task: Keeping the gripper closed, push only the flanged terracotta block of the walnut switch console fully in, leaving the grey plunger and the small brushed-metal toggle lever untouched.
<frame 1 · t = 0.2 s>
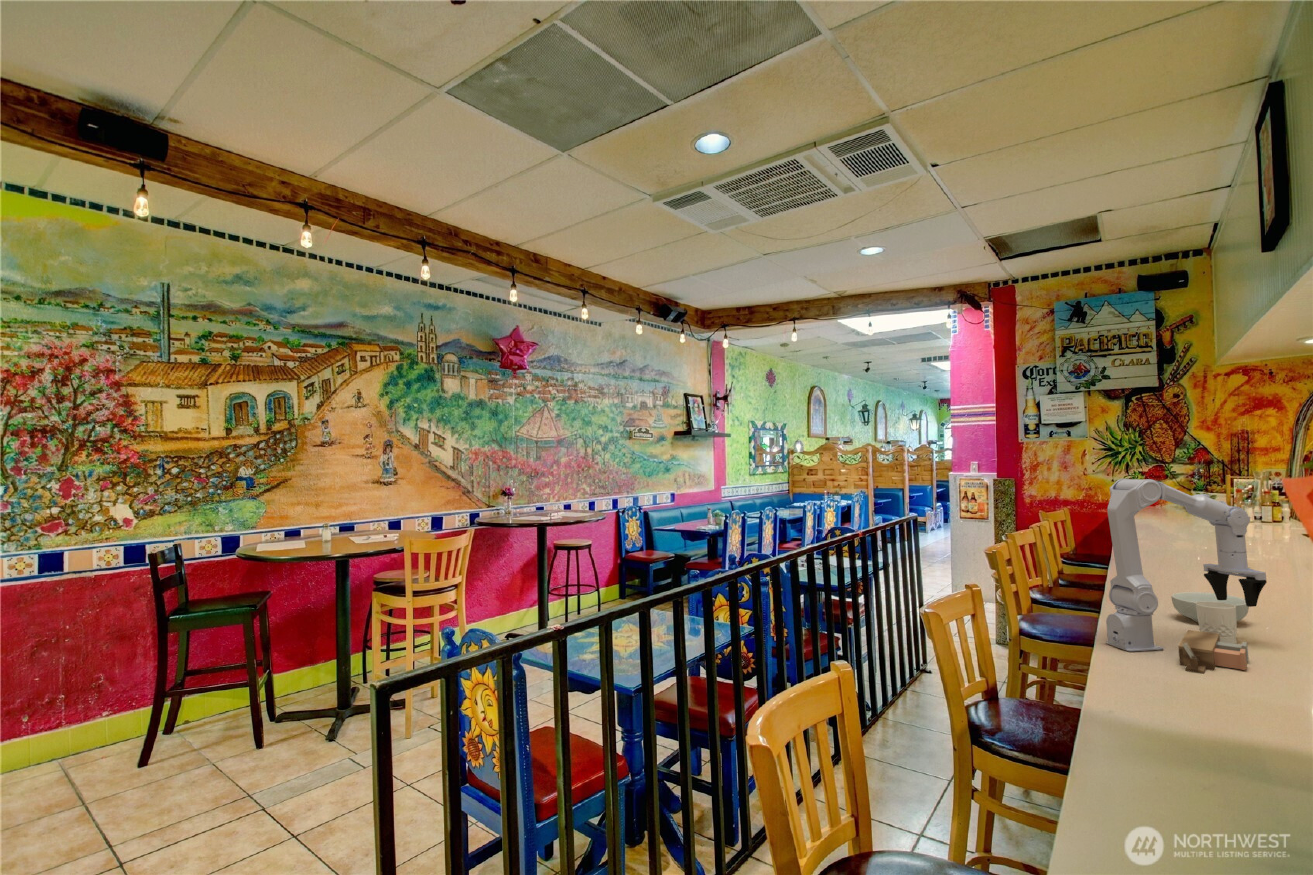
hand: (1236, 603, 161), 10 cm above the bar counter, fingers open, 7 cm apart
console: (1201, 658, 150), on the bar counter
toggle lever: (1190, 653, 143), point 4 cm above the bar counter, hinge at 25.0°
flanged terracotta block: (1225, 656, 144), point 2 cm above the bar counter, slide at 0.0 cm
white cup: (1219, 643, 161), on the bar counter
plunger grey: (1228, 649, 148), point 2 cm above the bar counter, slide at 0.0 cm
cereal bowl: (1210, 622, 180), on the bar counter
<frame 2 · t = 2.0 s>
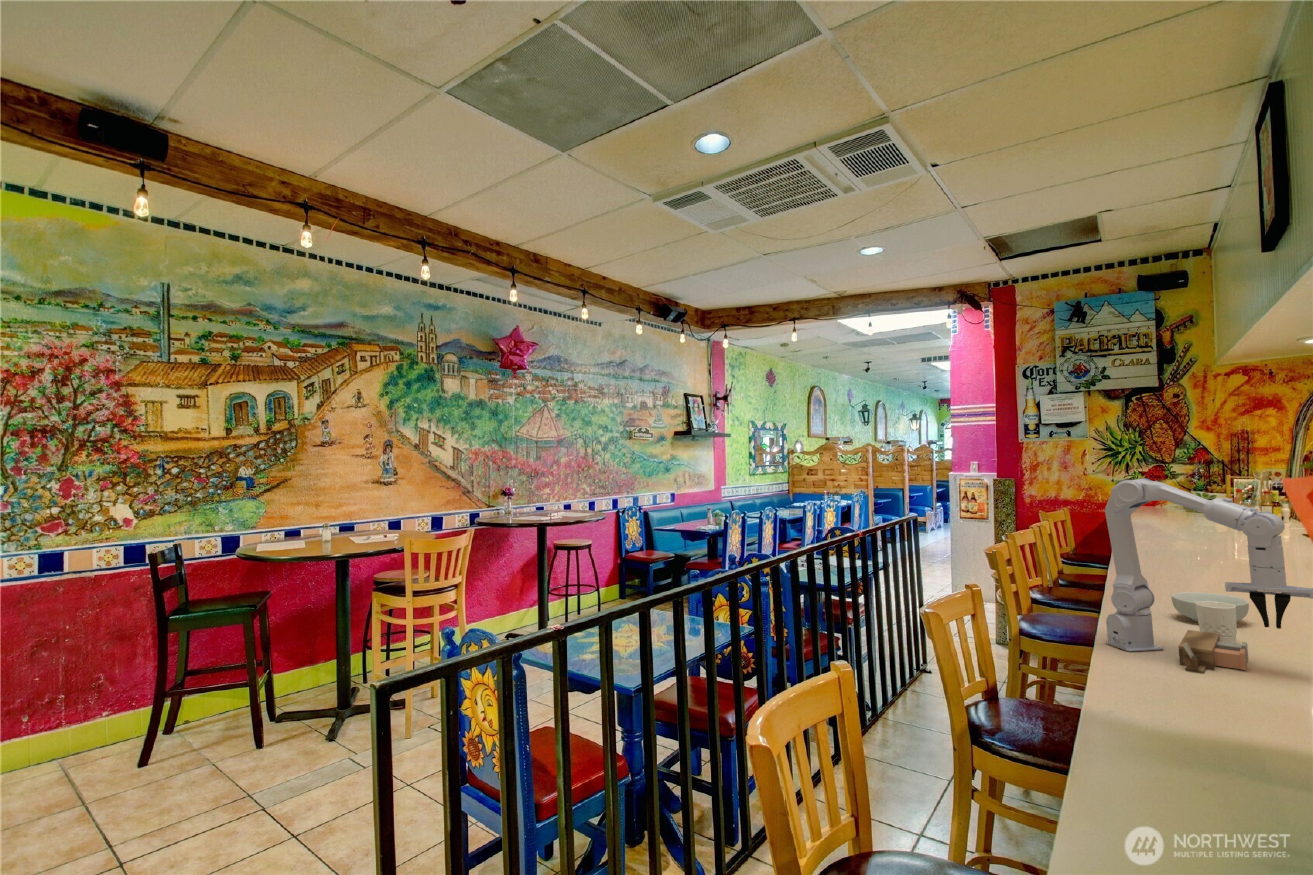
hand: (1272, 627, 138), 10 cm above the bar counter, fingers closed
nothing on the bar counter moved.
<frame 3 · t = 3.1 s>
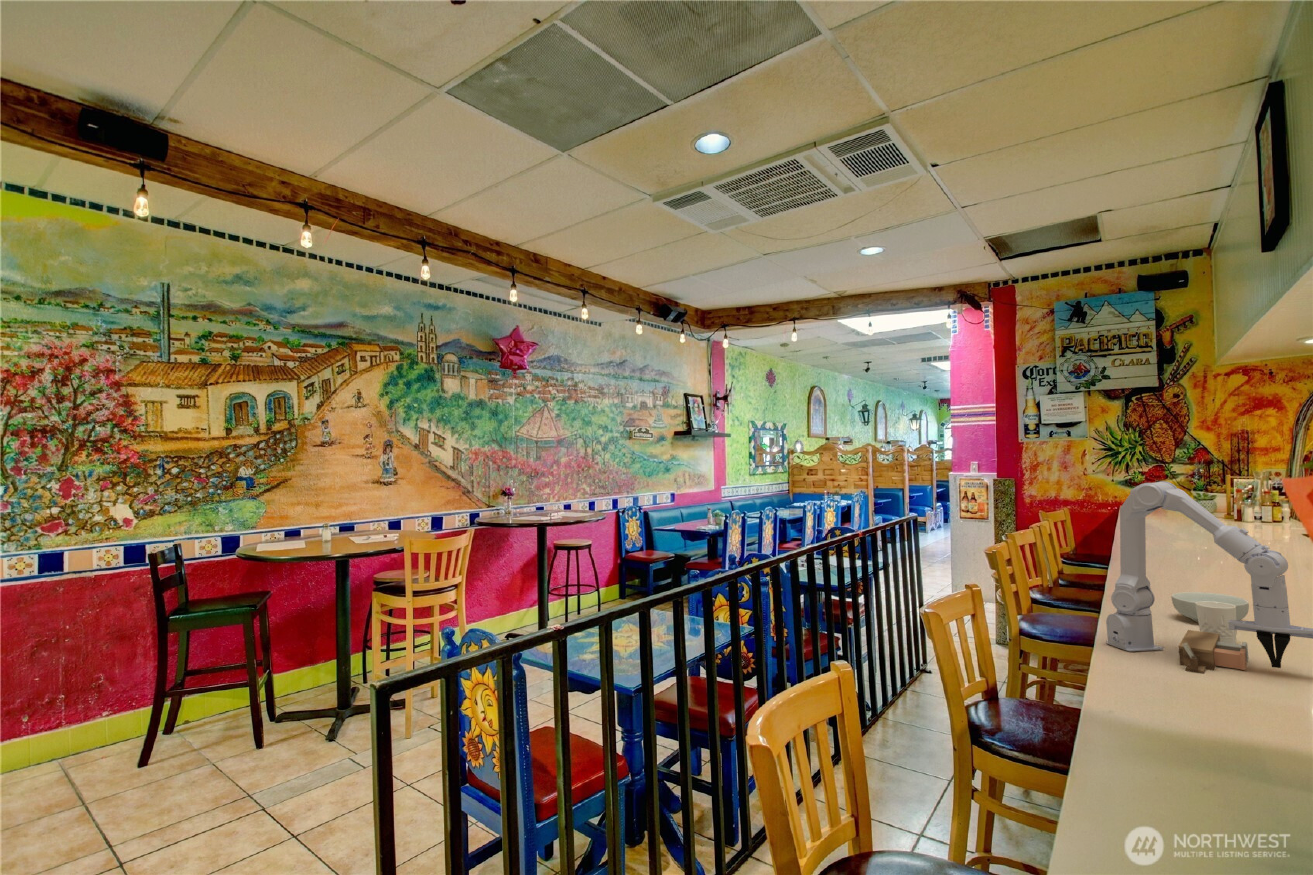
hand: (1276, 666, 138), 2 cm above the bar counter, fingers closed
nothing on the bar counter moved.
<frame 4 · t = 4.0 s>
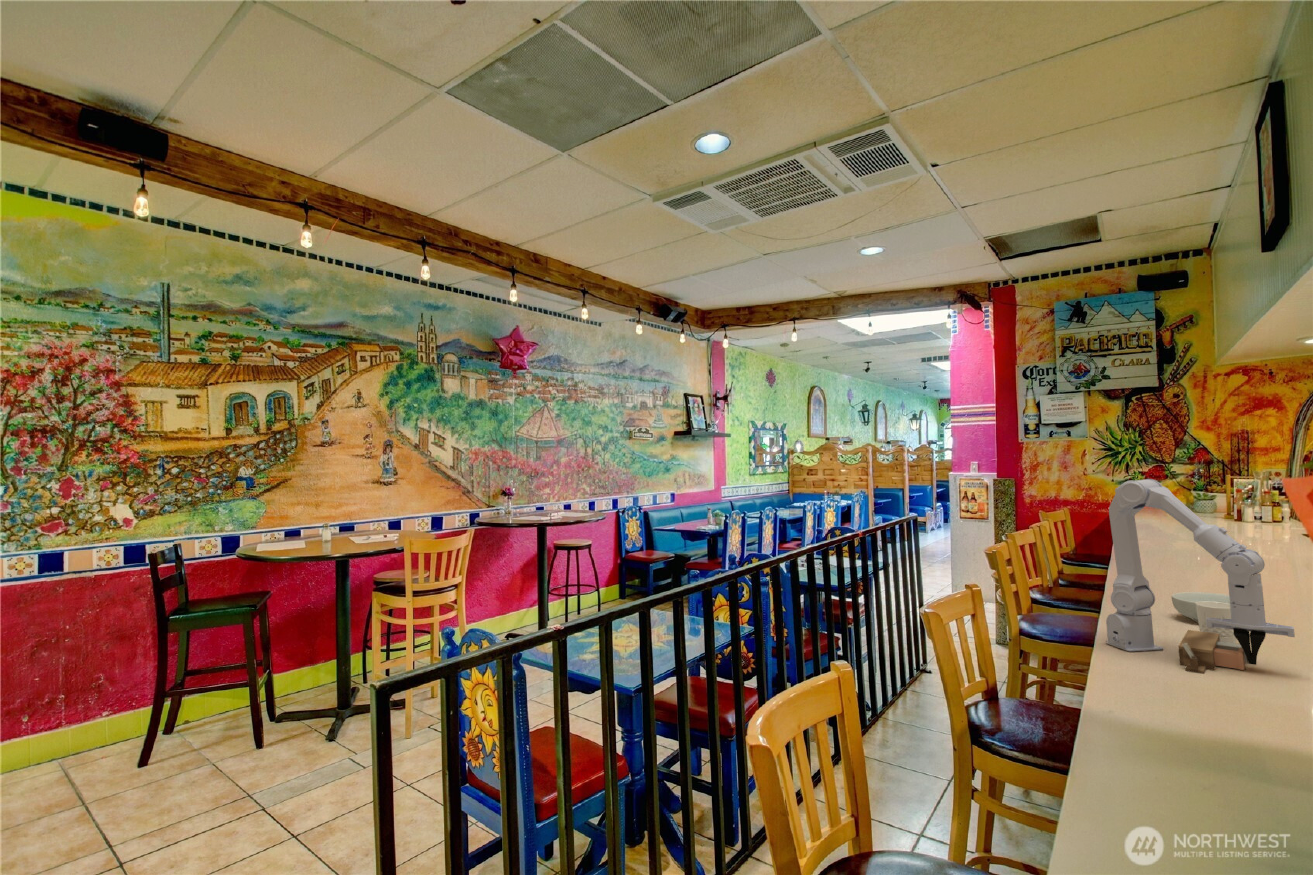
hand: (1252, 663, 140), 2 cm above the bar counter, fingers closed
flanged terracotta block: (1224, 656, 144), point 2 cm above the bar counter, slide at 0.3 cm, touching gripper
everything else where it was.
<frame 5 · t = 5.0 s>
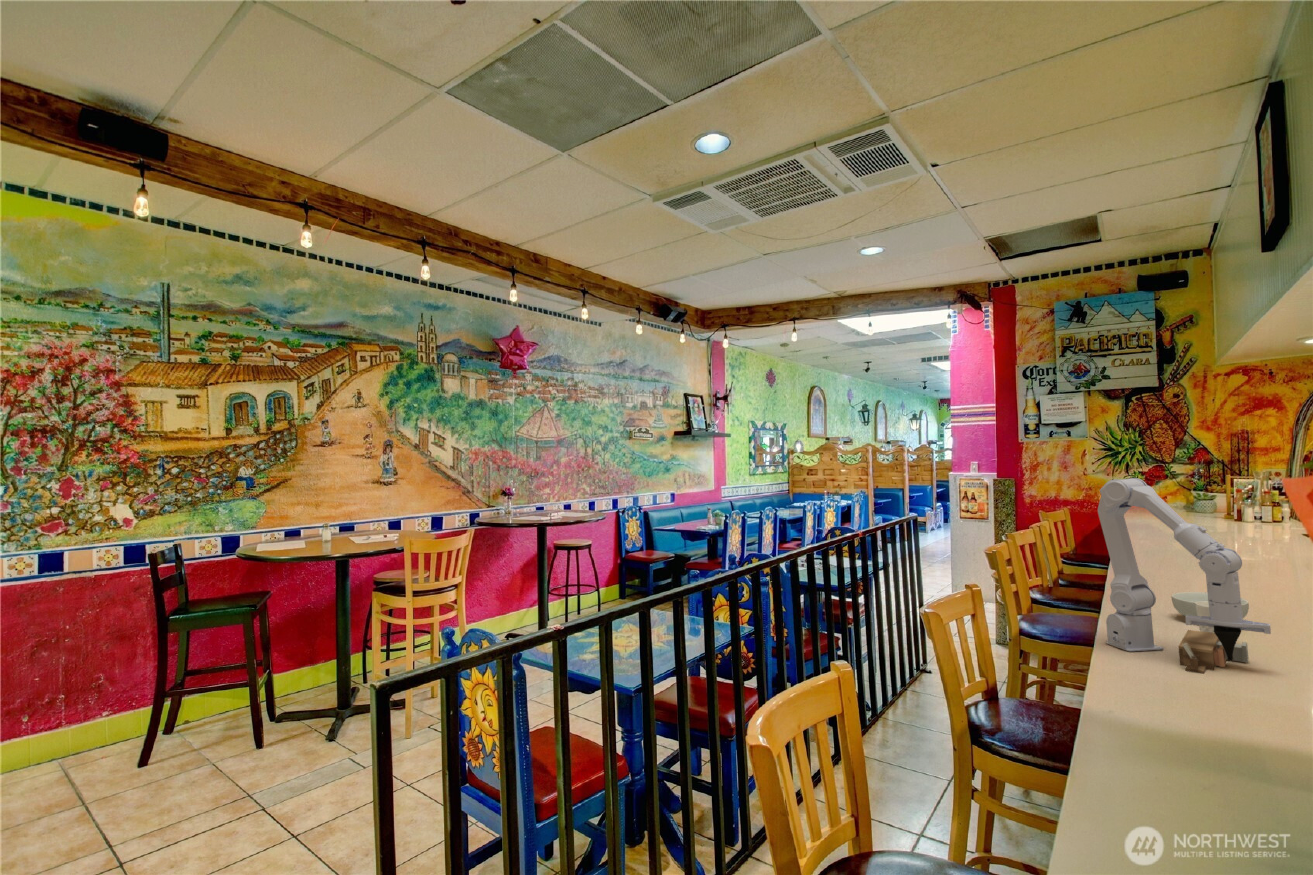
hand: (1230, 659, 143), 2 cm above the bar counter, fingers closed
flanged terracotta block: (1205, 654, 146), point 2 cm above the bar counter, slide at 3.6 cm, touching gripper
everything else where it was.
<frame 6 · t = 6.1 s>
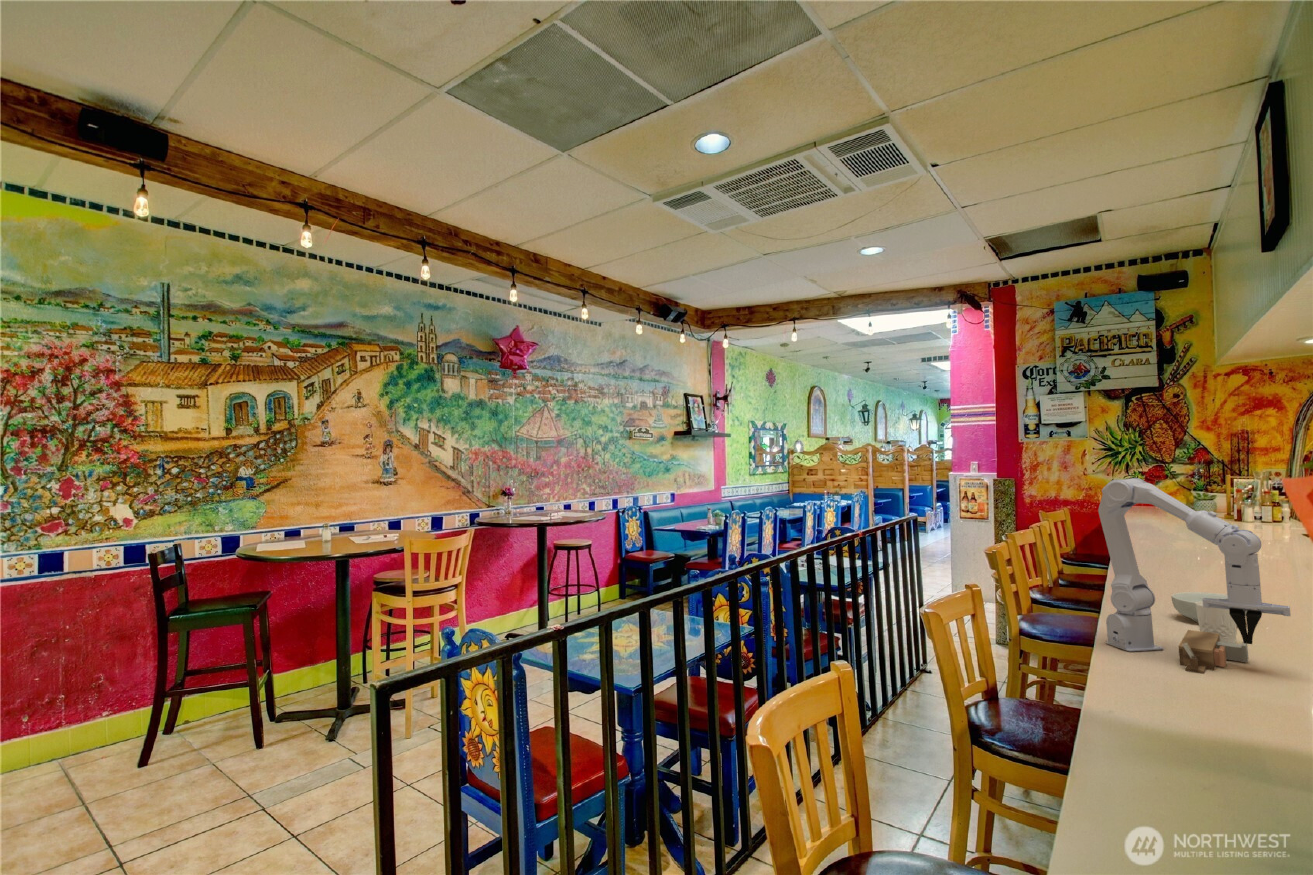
hand: (1248, 642, 141), 6 cm above the bar counter, fingers closed
flanged terracotta block: (1205, 654, 146), point 2 cm above the bar counter, slide at 3.5 cm
everything else where it was.
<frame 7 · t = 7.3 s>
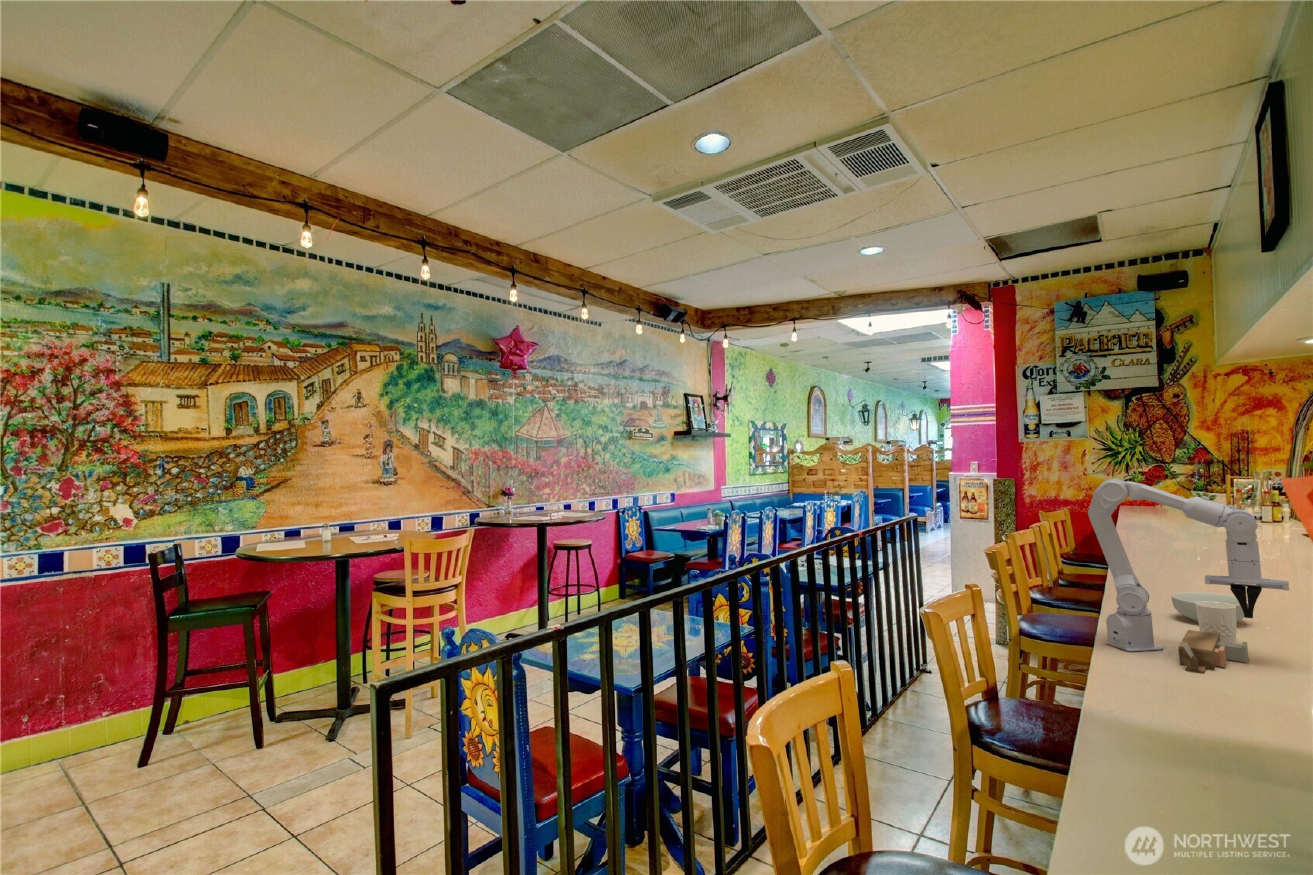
hand: (1248, 617, 147), 10 cm above the bar counter, fingers closed
nothing on the bar counter moved.
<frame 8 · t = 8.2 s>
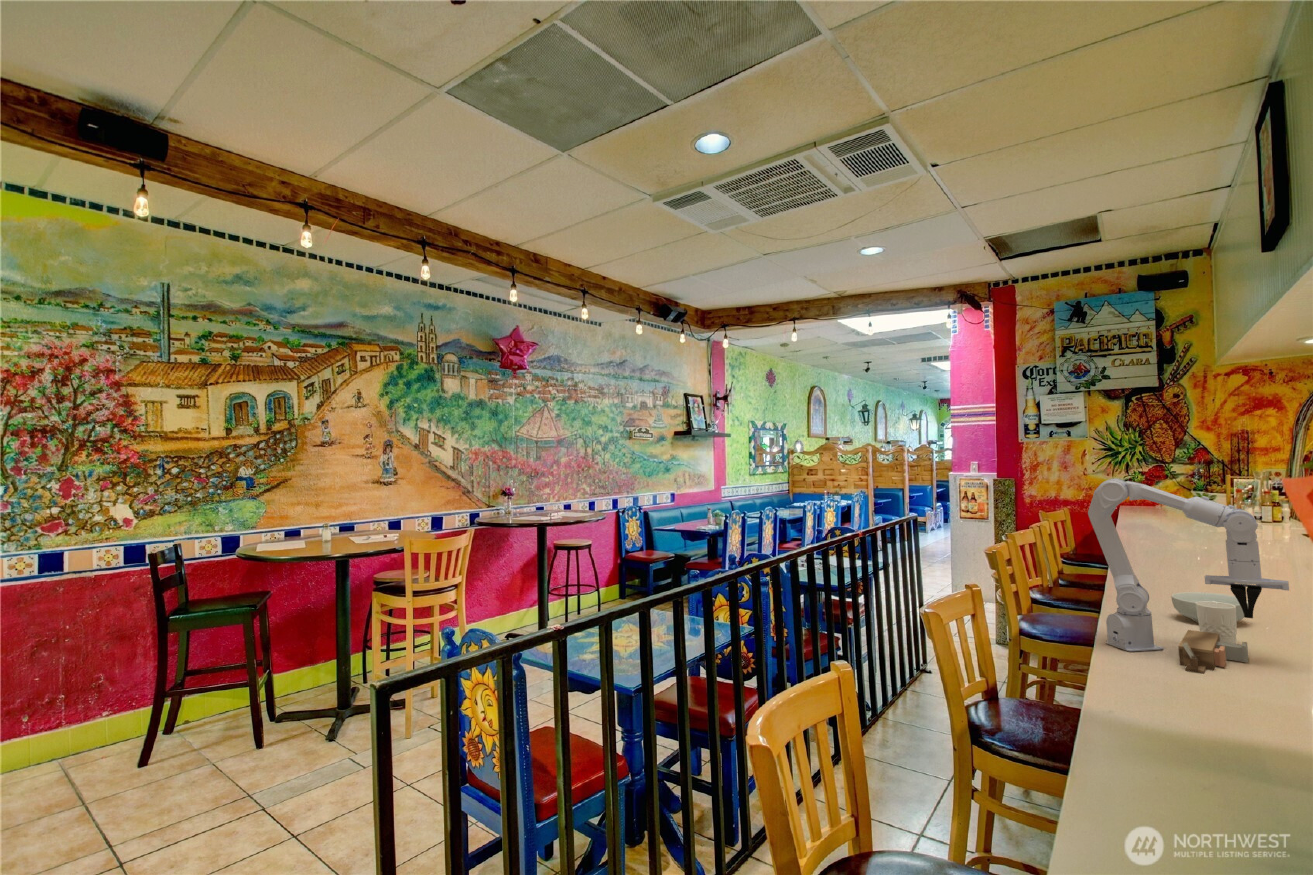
hand: (1248, 617, 147), 10 cm above the bar counter, fingers closed
nothing on the bar counter moved.
at the end: flanged terracotta block slide at 3.5 cm; plunger grey slide at 0.0 cm; toggle lever at +25° (first picture: +25°) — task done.
